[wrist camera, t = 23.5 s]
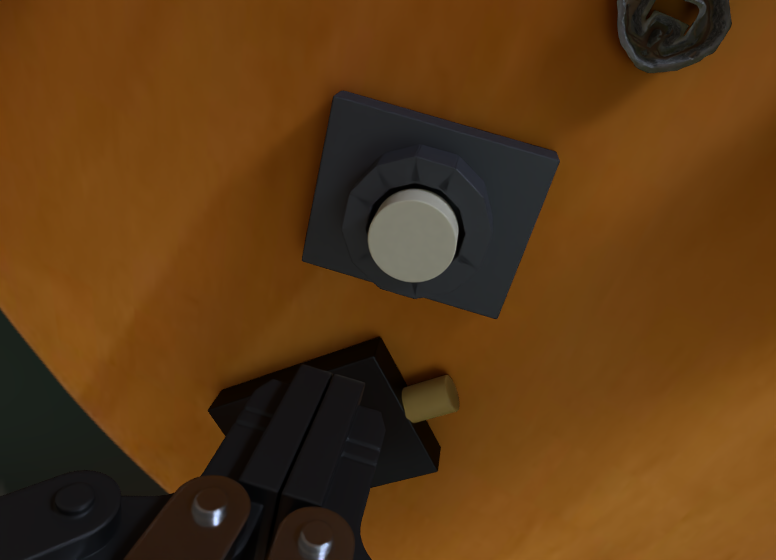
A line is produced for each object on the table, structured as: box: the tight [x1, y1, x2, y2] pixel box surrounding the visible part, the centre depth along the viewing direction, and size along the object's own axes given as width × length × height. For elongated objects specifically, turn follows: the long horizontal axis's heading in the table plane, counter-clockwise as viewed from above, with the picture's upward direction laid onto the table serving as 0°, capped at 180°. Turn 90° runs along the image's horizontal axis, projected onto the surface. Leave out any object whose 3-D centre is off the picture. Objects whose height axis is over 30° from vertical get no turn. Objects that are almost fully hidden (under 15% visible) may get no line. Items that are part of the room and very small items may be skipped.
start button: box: [368, 188, 459, 282], centre depth 27 cm, size 4×4×2 cm
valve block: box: [208, 337, 459, 488], centre depth 37 cm, size 15×9×2 cm, turn 116°
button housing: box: [302, 91, 560, 319], centre depth 29 cm, size 11×9×4 cm
